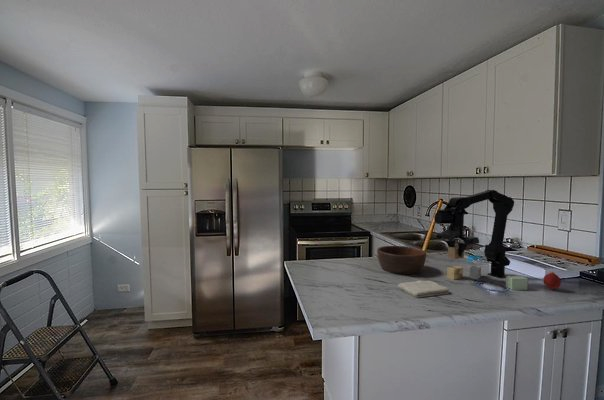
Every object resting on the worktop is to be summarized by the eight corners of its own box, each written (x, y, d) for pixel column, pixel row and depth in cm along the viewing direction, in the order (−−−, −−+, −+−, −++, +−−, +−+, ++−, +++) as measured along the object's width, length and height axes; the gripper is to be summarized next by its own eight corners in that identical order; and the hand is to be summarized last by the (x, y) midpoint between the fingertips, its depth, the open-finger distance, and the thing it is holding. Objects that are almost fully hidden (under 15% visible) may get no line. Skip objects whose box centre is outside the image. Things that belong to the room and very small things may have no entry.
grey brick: (472, 274, 146) (473, 265, 146) (480, 276, 144) (481, 266, 144) (469, 278, 141) (469, 267, 141) (477, 279, 139) (478, 269, 138)
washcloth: (451, 294, 120) (451, 287, 120) (415, 299, 114) (416, 292, 114) (430, 285, 132) (430, 278, 131) (396, 289, 126) (397, 282, 126)
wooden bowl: (368, 269, 154) (369, 250, 154) (388, 260, 173) (388, 243, 173) (416, 279, 138) (416, 258, 138) (432, 268, 157) (432, 249, 157)
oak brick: (455, 275, 144) (456, 266, 144) (462, 277, 141) (463, 267, 141) (446, 277, 141) (447, 267, 141) (453, 279, 138) (453, 269, 138)
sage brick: (520, 287, 129) (521, 276, 128) (527, 289, 125) (527, 278, 125) (505, 287, 128) (506, 276, 128) (511, 290, 125) (512, 278, 124)
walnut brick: (456, 256, 144) (457, 246, 143) (463, 257, 141) (464, 247, 140) (447, 257, 140) (448, 247, 140) (454, 259, 137) (455, 248, 137)
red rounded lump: (556, 288, 127) (557, 270, 127) (563, 292, 122) (564, 273, 121) (540, 286, 129) (541, 268, 128) (546, 291, 123) (547, 272, 123)
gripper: (429, 222, 144) (428, 253, 145) (465, 227, 128) (464, 262, 128) (443, 221, 149) (442, 251, 150) (480, 225, 133) (479, 259, 134)
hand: (456, 255), depth 140 cm, fingers closed on walnut brick, 3 cm apart
